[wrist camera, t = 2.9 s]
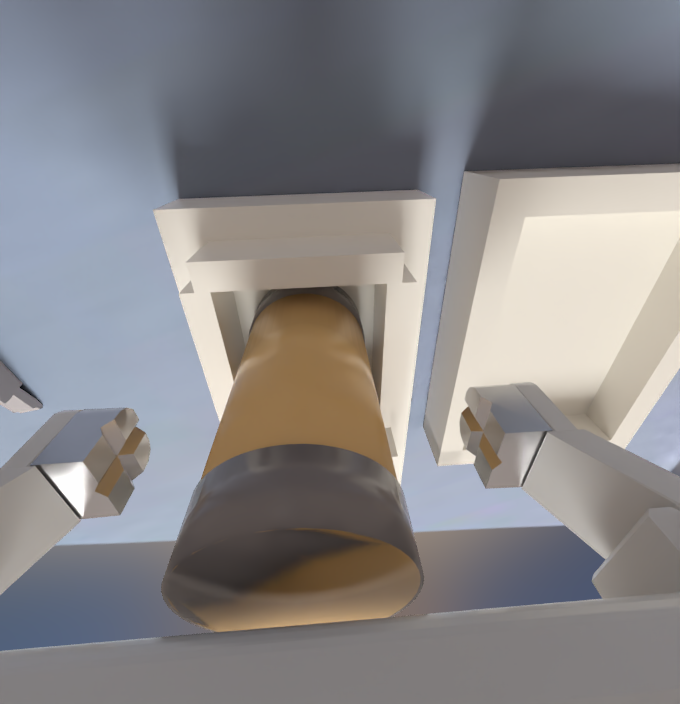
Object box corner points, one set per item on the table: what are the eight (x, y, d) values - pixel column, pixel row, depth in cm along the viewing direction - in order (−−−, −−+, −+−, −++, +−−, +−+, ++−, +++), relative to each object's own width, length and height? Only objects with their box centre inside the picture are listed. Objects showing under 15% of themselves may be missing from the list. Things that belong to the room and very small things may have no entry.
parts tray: (463, 171, 11) (499, 178, 9) (722, 161, 11) (816, 167, 9) (423, 426, 17) (437, 466, 15) (585, 416, 18) (621, 453, 16)
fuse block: (178, 198, 11) (-307, 410, 2) (417, 189, 11) (737, 349, 3) (255, 479, 19) (207, 747, 11) (391, 470, 19) (449, 723, 11)
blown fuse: (245, 279, 10) (115, 538, 4) (361, 274, 10) (441, 514, 4) (263, 373, 12) (201, 648, 6) (360, 367, 12) (411, 630, 6)
